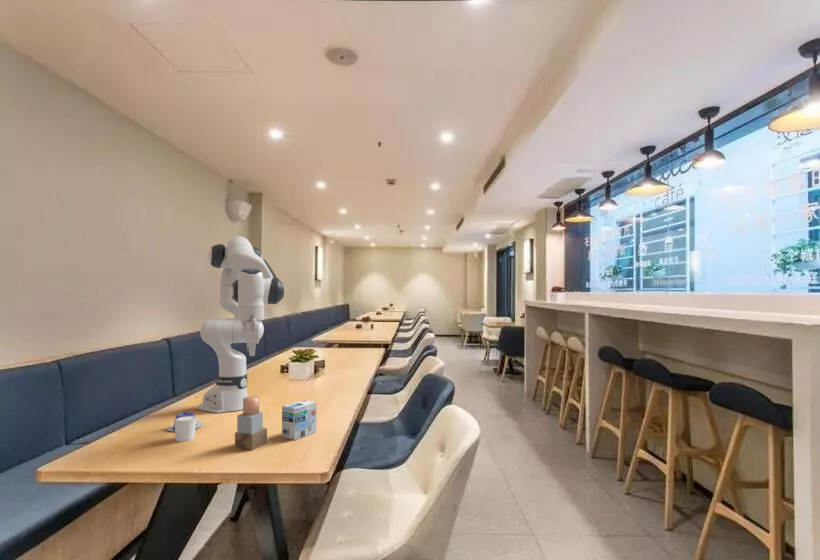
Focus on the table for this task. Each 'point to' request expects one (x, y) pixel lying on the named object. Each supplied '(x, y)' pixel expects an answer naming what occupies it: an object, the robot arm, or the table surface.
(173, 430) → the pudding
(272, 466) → the table surface
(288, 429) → the light bulb box
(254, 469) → the table surface
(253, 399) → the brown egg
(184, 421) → the shot glass
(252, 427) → the tower mid
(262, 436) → the tower base
